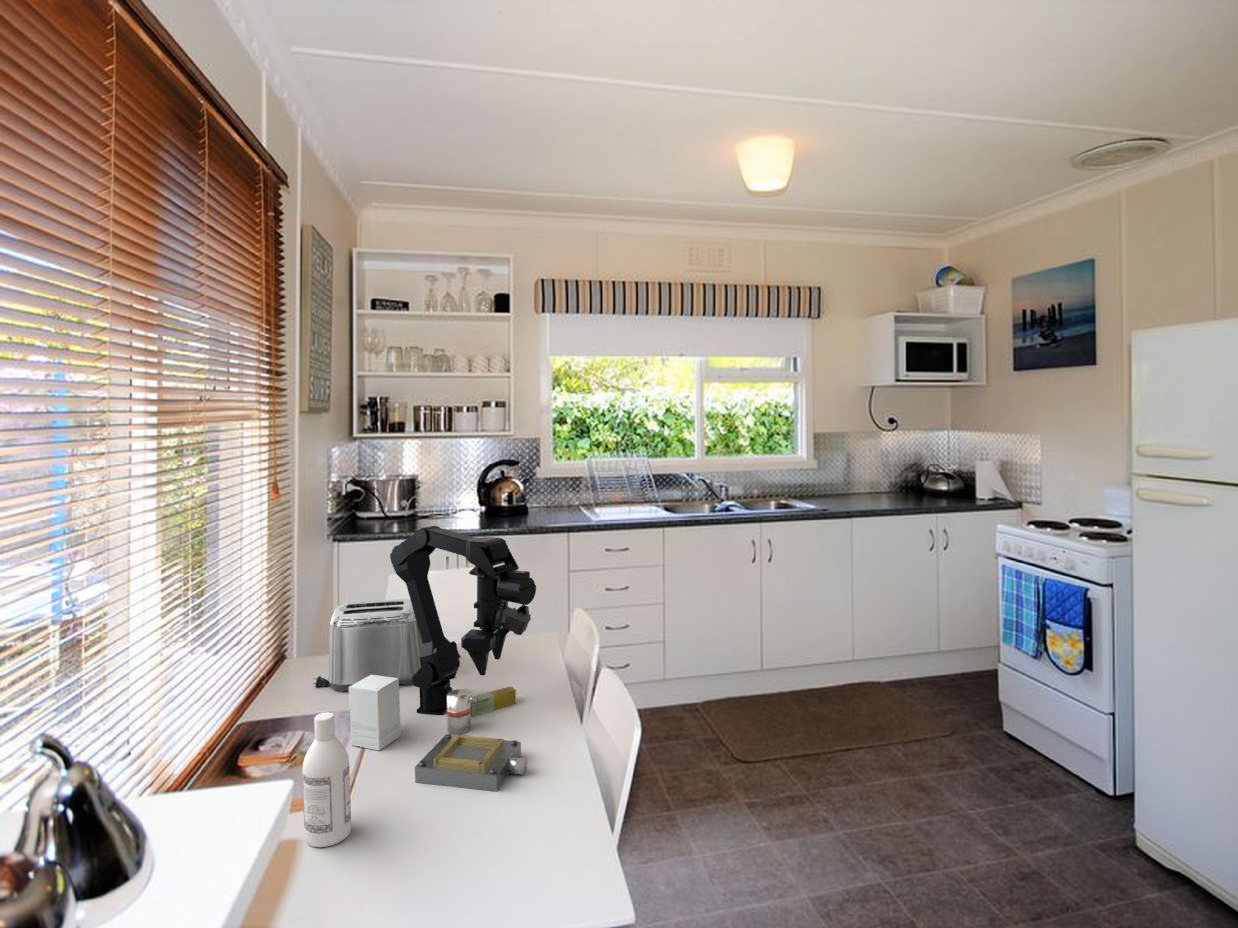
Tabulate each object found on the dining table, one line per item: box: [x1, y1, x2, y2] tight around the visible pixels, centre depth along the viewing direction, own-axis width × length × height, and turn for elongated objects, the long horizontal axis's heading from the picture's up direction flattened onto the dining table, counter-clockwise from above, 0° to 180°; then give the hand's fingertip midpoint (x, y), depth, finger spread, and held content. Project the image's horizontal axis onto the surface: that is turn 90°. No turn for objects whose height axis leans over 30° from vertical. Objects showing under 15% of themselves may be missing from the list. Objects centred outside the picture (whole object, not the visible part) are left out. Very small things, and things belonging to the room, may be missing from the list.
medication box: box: [471, 685, 517, 718], centre depth 158 cm, size 12×3×4 cm, turn 127°
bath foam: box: [301, 711, 352, 848], centre depth 110 cm, size 7×7×20 cm
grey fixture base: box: [414, 733, 528, 792], centre depth 131 cm, size 19×13×4 cm
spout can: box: [446, 688, 478, 736], centre depth 148 cm, size 7×5×8 cm
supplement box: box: [348, 675, 402, 751], centre depth 143 cm, size 7×7×13 cm
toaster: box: [312, 598, 423, 693], centre depth 176 cm, size 17×30×19 cm, turn 104°
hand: (490, 666), depth 149 cm, fingers open, 9 cm apart
